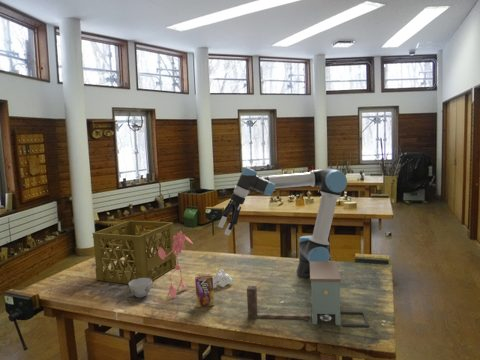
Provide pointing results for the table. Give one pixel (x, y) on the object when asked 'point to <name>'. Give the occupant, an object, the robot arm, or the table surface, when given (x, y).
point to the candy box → (204, 290)
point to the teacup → (140, 286)
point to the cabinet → (325, 289)
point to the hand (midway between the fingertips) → (223, 231)
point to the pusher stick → (254, 313)
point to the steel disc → (325, 317)
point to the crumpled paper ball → (221, 278)
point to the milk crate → (133, 251)
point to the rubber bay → (356, 313)
